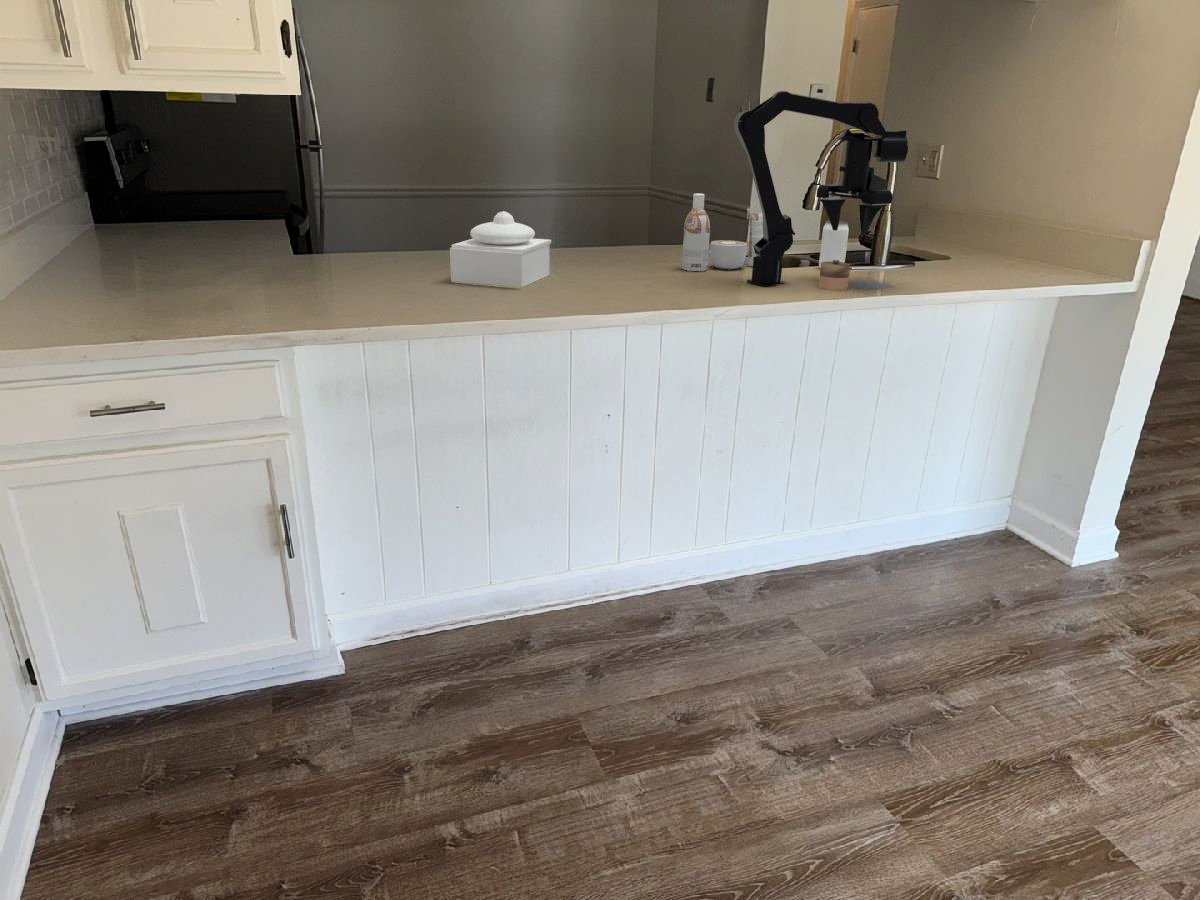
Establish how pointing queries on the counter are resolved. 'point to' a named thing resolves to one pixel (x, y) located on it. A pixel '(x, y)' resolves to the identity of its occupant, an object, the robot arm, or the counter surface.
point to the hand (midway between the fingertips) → (849, 232)
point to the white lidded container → (501, 254)
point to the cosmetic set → (721, 251)
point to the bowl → (833, 283)
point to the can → (834, 243)
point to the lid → (835, 269)
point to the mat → (870, 285)
